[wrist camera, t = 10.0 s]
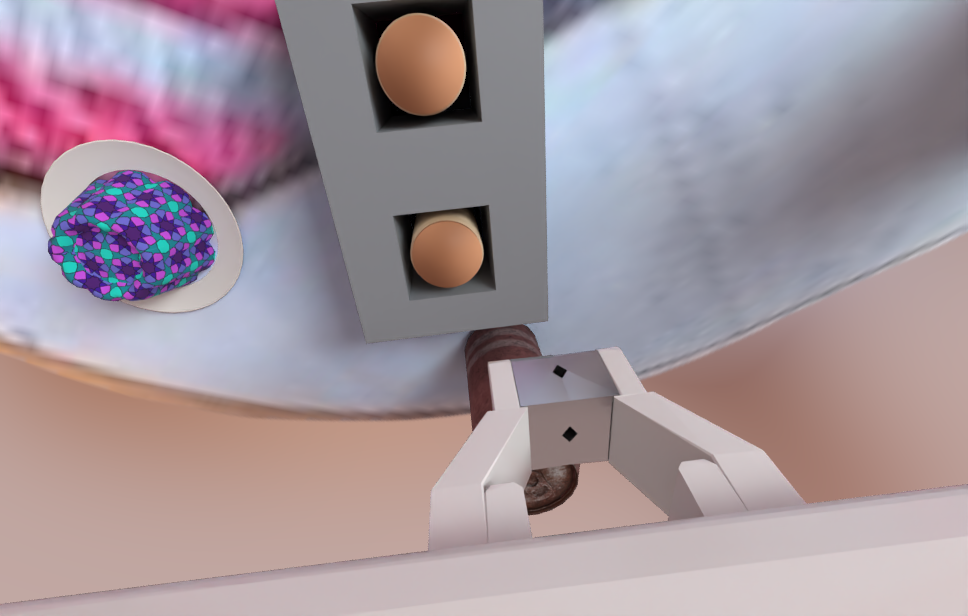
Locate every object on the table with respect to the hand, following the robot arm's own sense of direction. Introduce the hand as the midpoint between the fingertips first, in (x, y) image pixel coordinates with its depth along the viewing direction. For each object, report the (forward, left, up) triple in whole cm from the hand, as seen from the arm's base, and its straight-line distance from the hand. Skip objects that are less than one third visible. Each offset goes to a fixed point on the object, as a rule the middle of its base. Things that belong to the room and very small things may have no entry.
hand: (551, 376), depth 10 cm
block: (+2, -2, -22) cm, 22 cm away
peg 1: (+2, -6, -22) cm, 23 cm away
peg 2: (+2, +3, -22) cm, 22 cm away
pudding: (+22, +2, -23) cm, 32 cm away
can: (-1, +15, -23) cm, 27 cm away
